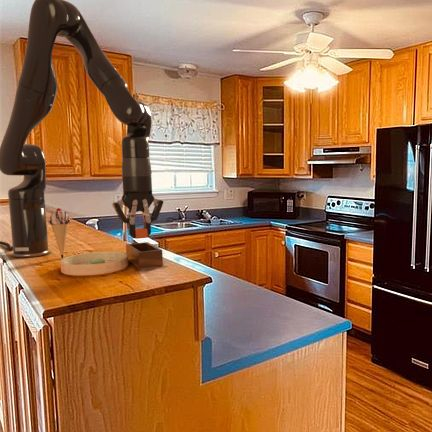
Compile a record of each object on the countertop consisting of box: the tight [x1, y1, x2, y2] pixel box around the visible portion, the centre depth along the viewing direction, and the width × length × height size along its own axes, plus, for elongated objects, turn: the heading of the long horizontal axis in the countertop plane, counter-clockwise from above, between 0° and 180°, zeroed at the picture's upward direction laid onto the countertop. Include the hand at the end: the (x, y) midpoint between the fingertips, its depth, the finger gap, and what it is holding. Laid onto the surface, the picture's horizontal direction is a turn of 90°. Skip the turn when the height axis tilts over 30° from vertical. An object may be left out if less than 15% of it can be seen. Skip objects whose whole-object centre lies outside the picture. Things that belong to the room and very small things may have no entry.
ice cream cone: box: [47, 207, 72, 259], centre depth 121 cm, size 6×6×15 cm
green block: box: [90, 258, 105, 264], centre depth 109 cm, size 4×3×2 cm
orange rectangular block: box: [135, 226, 148, 239], centre depth 118 cm, size 4×3×2 cm
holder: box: [125, 241, 164, 270], centre depth 116 cm, size 14×6×5 cm, turn 34°
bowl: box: [59, 250, 130, 276], centre depth 111 cm, size 16×16×3 cm
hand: (140, 236), depth 118 cm, fingers closed on orange rectangular block, 3 cm apart
